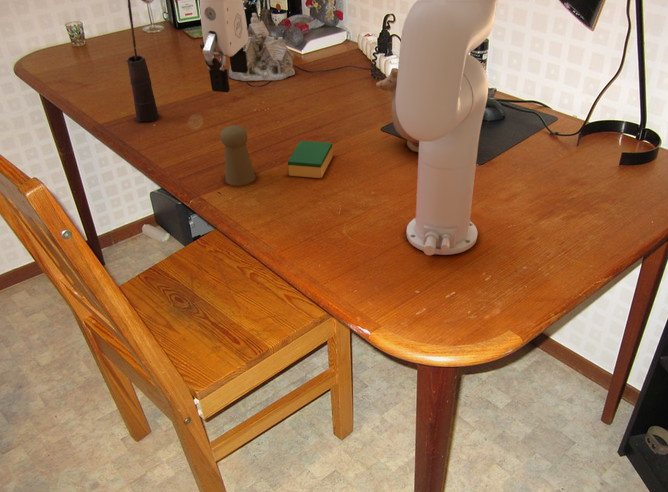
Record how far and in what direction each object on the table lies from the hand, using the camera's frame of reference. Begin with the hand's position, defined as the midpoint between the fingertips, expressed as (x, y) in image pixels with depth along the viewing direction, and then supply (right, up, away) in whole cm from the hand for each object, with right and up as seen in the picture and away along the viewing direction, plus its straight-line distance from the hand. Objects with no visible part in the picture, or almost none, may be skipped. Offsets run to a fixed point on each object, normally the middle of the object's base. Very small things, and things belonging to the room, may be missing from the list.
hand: (230, 81), depth 120 cm
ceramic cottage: (-4, +22, +60) cm, 64 cm away
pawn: (-1, -16, +13) cm, 20 cm away
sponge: (+14, -12, +17) cm, 25 cm away
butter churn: (-28, +3, +36) cm, 46 cm away
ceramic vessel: (+40, -6, +24) cm, 47 cm away
